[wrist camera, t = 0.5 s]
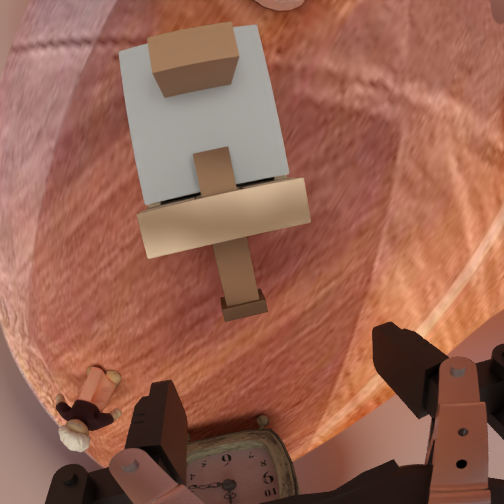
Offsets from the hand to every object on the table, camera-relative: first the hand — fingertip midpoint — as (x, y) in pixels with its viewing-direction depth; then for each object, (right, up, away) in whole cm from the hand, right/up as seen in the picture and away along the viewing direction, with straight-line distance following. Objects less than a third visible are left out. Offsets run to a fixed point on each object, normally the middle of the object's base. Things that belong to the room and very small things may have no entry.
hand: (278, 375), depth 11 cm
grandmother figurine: (-20, -10, +22) cm, 31 cm away
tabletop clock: (-4, -21, +27) cm, 34 cm away
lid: (-5, +16, +11) cm, 20 cm away
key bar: (-3, +6, +12) cm, 14 cm away
